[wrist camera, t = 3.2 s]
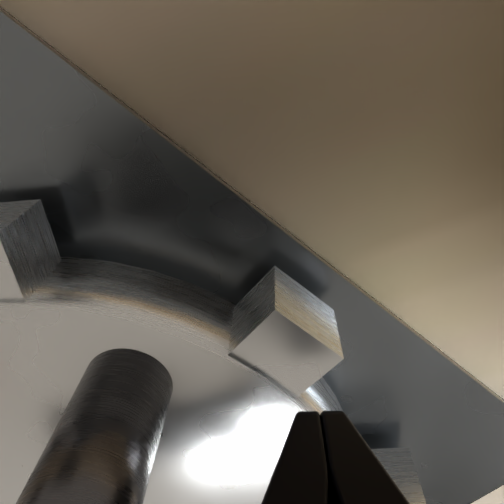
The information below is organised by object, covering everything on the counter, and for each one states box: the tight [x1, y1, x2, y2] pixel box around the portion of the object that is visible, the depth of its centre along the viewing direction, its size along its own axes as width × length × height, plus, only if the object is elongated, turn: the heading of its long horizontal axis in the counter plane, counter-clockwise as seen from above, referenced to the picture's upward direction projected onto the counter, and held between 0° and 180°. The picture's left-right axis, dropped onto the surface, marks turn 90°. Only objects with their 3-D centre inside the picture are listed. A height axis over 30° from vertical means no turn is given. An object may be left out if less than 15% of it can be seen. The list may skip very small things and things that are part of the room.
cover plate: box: [0, 7, 504, 504], centre depth 14 cm, size 19×19×1 cm
